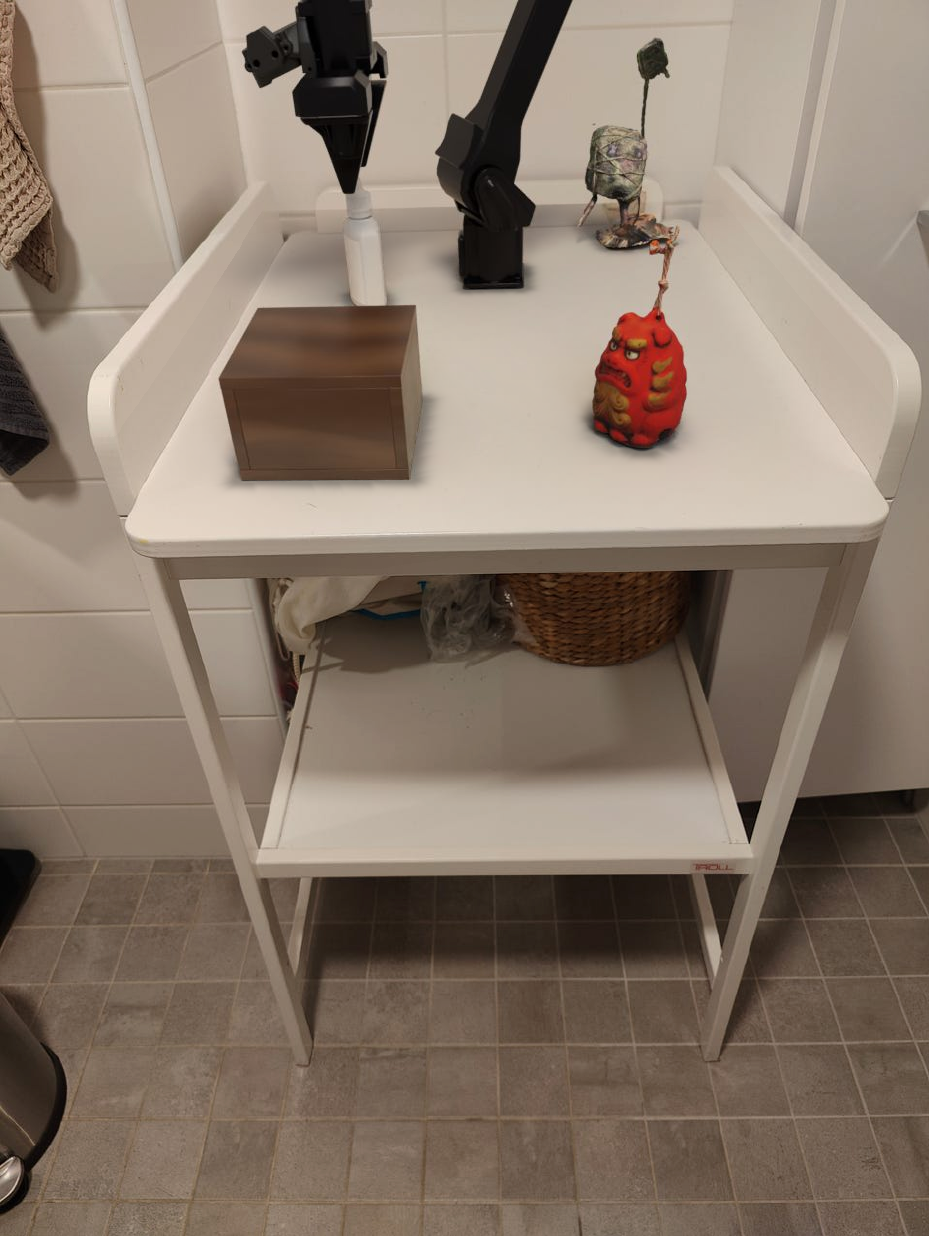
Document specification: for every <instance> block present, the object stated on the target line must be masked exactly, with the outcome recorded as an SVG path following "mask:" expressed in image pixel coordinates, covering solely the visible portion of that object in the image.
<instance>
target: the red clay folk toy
mask: <svg viewBox="0 0 929 1236" xmlns="http://www.w3.org/2000/svg"><path fill="white" fill-rule="evenodd" d="M674 231H675V232H673V237H672V238H671V239H669V238H668V239H667V240H666V242H665V245H664V247H662V246H660V245H659V244H660V242H659V241H658V239H655V240H652V241H650V243H649V246H650V247H649V253H648V254H649V256H653V255H657V254H660V255H663V263H662V271H661V272H662V273H661V279H659V280H658V282H657V285H658V287H659V290H658V293H657V297H656V299H655V301H654V304H653V306H652V309H651V311H649V312H648V313H647V314H646V315H645V316H644V317H643V316H640V315H638V314H637V313H636V312H633V311H630V312H629V311H628V312H626V313H624V314H622V315H621V316H620V317H618V320H617V322H616V326H615V327H613V329H612V332H611V338H610V340H608V343H607V345H606V347H605V349H604V350H603V352H602V353H601V355H600V358H599V362H598V364H597V365H596V366H595V370H594V376H595V384H594V386H593V387H594V388H593V398H592V401H591V403H592V405H591V406H592V411H593V420H594V429H595V430H596V431H598V432H601V433H603V434H609V436H610V438H611V439H612V440H613V441H615V442H617V443H619V444H621V445H624V446H628V447H632V448H637V449H649V448H652V446H653V445H654V444H655V443H657V442H658V441H664V440H665V439H667V438H669V437H670V436H671V435H672V434H673V433H674V432H675V430H676V429H677V428H678V427H679V425H680V423H681V419H682V416H683V412H684V407H685V402H686V400H687V395H688V392H687V391H688V390H687V386H686V384H687V381H688V371H687V367H686V366H685V363H684V360H685V353H684V347H683V345H682V343H681V342H680V341H679V339H678V337H677V334H676V333H675V331H673V330H672V329H671V328H670V326H669V325H668V323H667V322H666V316H665V313H664V312H663V311H662V304H663V295H664V293H666V291H667V290H668V289H669V281H668V279H667V276H668V272H669V269H670V264H671V260H672V257H673V254H674V250H675V247H677V246H678V245H679V242H678V241H676V240H677V238H678V236H679V233H680V226H679V225H678V224H677V225H676V227H675V230H674ZM675 241H676V242H675Z"/></svg>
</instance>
